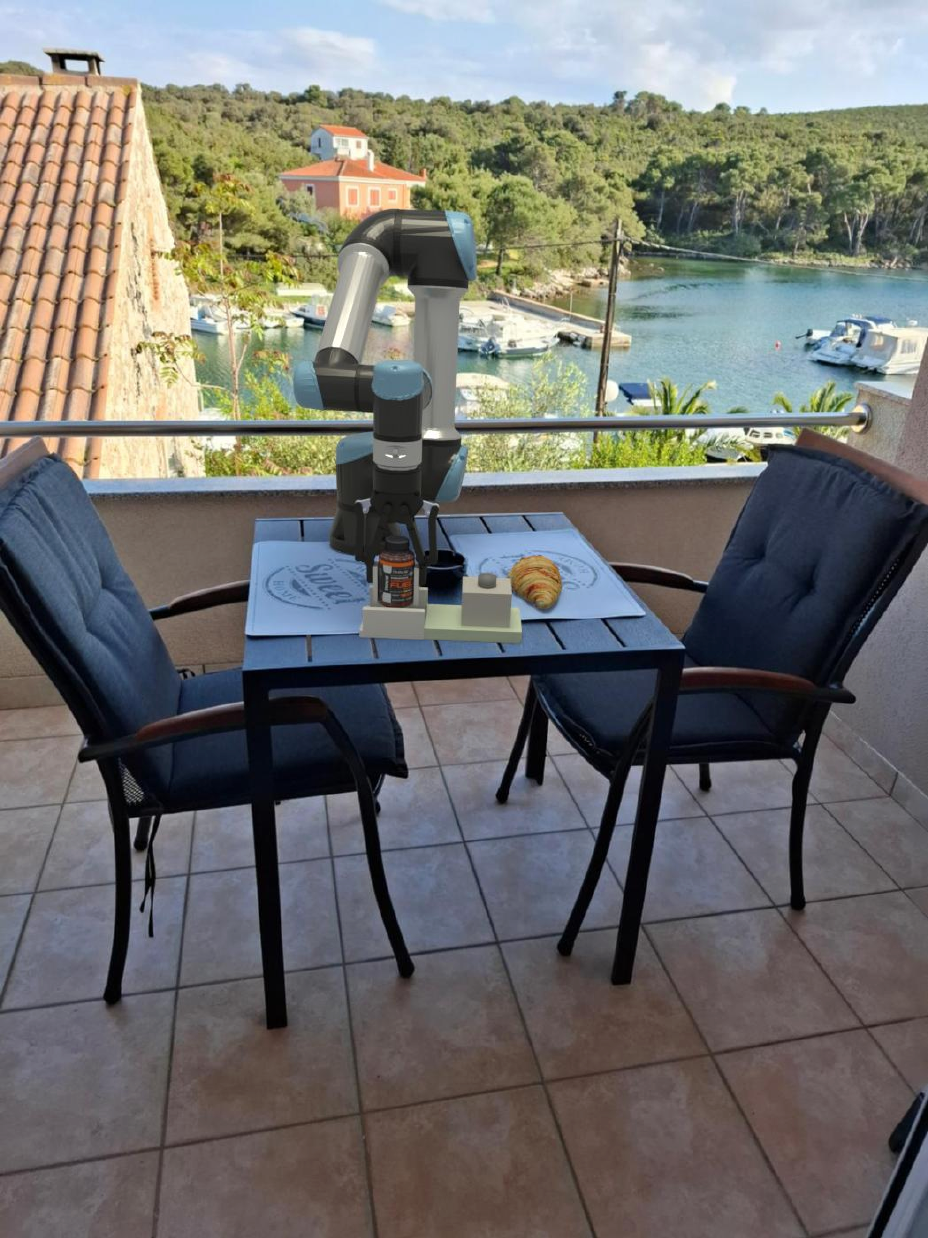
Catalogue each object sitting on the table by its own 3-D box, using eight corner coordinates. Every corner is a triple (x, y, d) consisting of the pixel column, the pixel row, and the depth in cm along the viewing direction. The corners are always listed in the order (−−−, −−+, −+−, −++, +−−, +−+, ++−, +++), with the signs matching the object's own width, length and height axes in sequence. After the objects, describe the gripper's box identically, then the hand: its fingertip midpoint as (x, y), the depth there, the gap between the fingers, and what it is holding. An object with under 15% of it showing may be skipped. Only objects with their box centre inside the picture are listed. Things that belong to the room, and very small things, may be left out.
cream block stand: (366, 611, 146) (366, 559, 142) (518, 617, 146) (522, 566, 142) (359, 637, 136) (358, 582, 132) (521, 643, 136) (525, 589, 132)
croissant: (559, 631, 150) (583, 595, 147) (513, 608, 147) (537, 571, 144) (534, 584, 169) (556, 551, 166) (493, 563, 165) (514, 529, 163)
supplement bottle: (390, 612, 135) (391, 546, 131) (371, 600, 140) (371, 536, 135) (420, 605, 139) (422, 540, 134) (401, 593, 143) (402, 530, 138)
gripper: (332, 468, 126) (336, 607, 136) (457, 473, 126) (452, 612, 136) (339, 456, 133) (342, 590, 142) (458, 461, 133) (453, 595, 143)
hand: (396, 601), depth 139 cm, fingers closed on supplement bottle, 6 cm apart
